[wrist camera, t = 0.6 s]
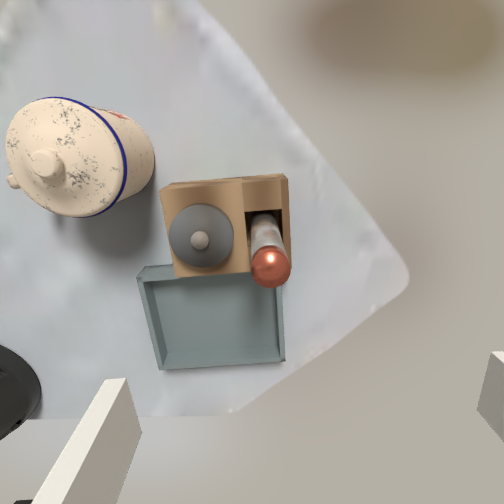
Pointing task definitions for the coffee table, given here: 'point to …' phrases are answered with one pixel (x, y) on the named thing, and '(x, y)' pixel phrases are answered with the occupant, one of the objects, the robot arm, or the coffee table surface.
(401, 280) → the coffee table surface
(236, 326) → the tray
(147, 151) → the teacup with lid
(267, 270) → the pin
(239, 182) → the tan wooden block
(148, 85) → the coffee table surface
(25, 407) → the robot arm
